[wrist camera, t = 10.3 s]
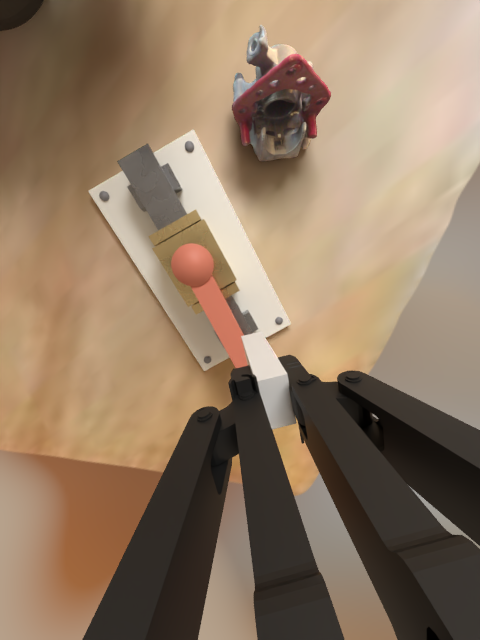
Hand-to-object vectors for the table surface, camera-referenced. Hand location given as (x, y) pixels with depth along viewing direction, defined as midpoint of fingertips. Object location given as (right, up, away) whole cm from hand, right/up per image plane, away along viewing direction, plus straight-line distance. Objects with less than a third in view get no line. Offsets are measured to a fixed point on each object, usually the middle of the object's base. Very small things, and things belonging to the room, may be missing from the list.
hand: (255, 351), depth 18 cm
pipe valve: (-7, +11, +19) cm, 23 cm away
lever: (-3, +3, +12) cm, 13 cm away
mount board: (-7, +11, +19) cm, 23 cm away
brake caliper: (+4, +25, +17) cm, 31 cm away
